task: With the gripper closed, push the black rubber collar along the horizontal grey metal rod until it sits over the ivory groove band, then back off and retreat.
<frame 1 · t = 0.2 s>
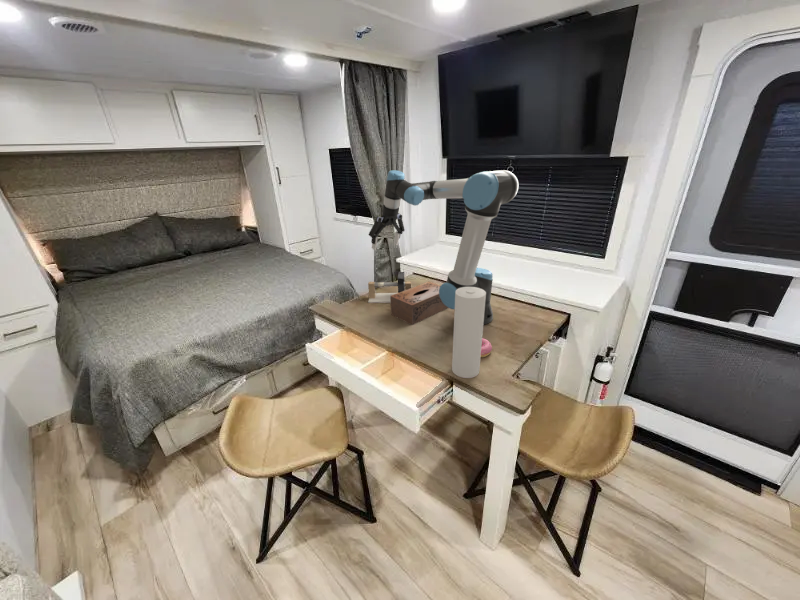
hand: (384, 246, 164), 27 cm above the table, tool tilted 15°, fingers open, 13 cm apart
rail stand: (390, 298, 174), on the table
tissue box cover: (421, 311, 159), on the table
cylinder container: (465, 370, 115), on the table
doughnut: (476, 351, 126), on the table
collar: (401, 284, 170), point 8 cm above the table, slide at -6.0 cm
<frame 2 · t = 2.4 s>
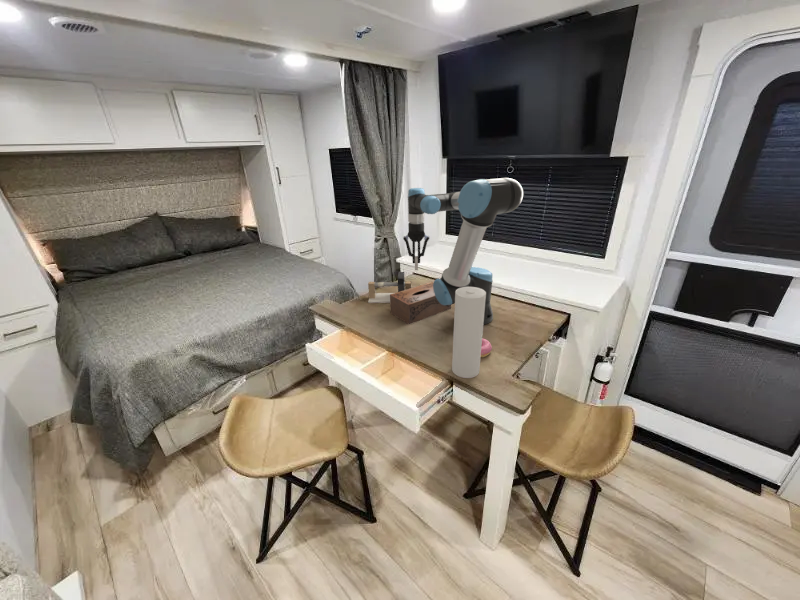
hand: (416, 269, 166), 16 cm above the table, tool pointing down, fingers closed
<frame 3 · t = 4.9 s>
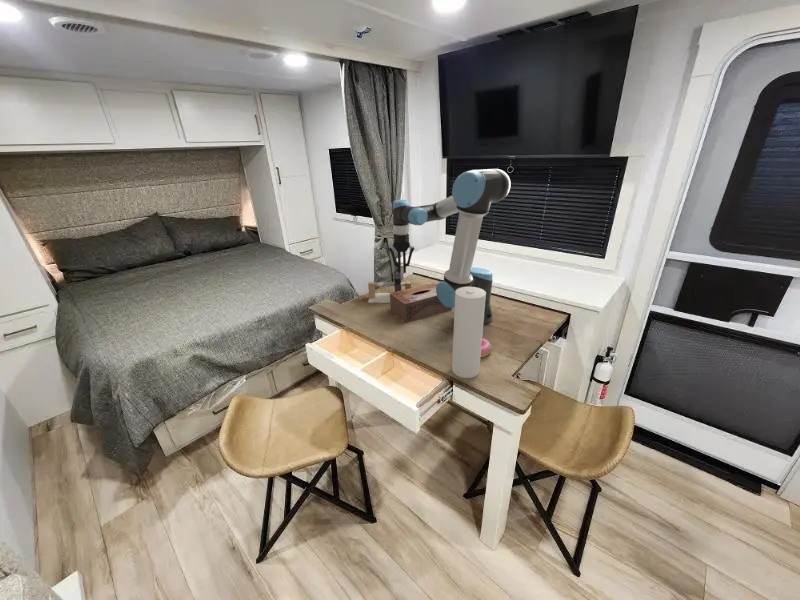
hand: (402, 278, 169), 11 cm above the table, tool pointing down, fingers closed
collar: (398, 284, 170), point 8 cm above the table, slide at -4.3 cm, touching gripper
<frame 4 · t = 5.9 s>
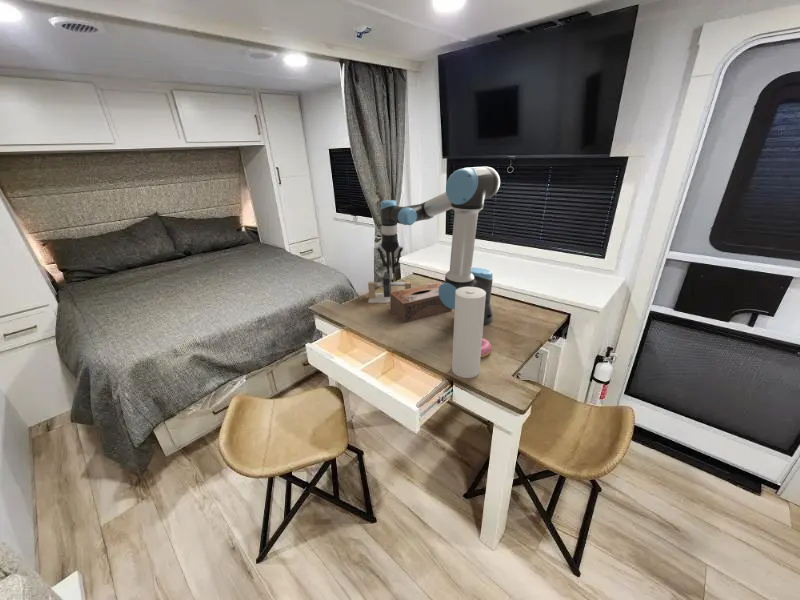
hand: (391, 278, 169), 11 cm above the table, tool pointing down, fingers closed
collar: (387, 284, 170), point 8 cm above the table, slide at 1.3 cm, touching gripper
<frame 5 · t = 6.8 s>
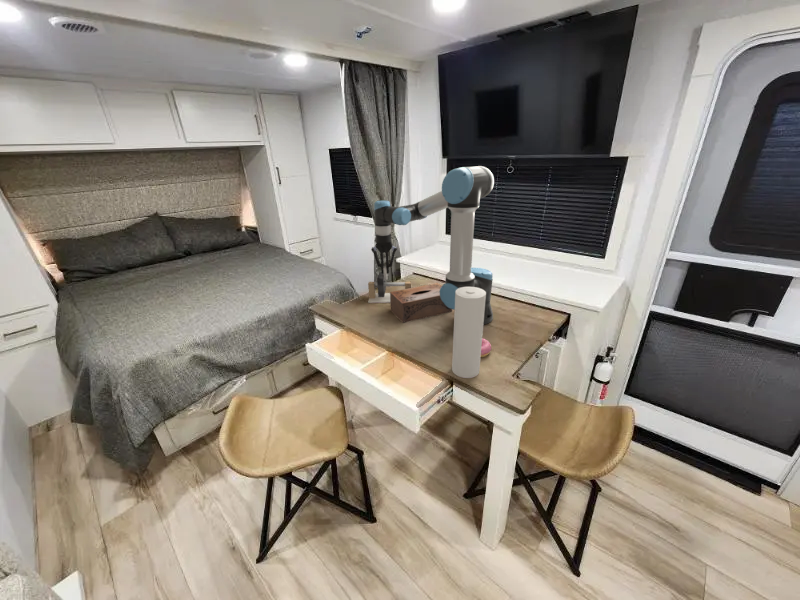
hand: (385, 279, 169), 11 cm above the table, tool pointing down, fingers closed
collar: (381, 284, 170), point 8 cm above the table, slide at 4.2 cm, touching gripper
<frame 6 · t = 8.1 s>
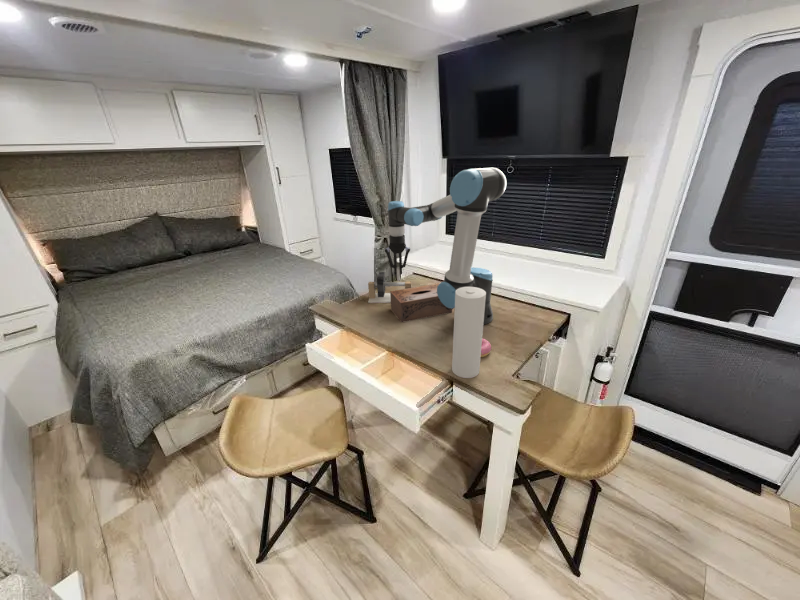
hand: (398, 280, 169), 10 cm above the table, tool pointing down, fingers closed
collar: (381, 284, 170), point 8 cm above the table, slide at 4.4 cm
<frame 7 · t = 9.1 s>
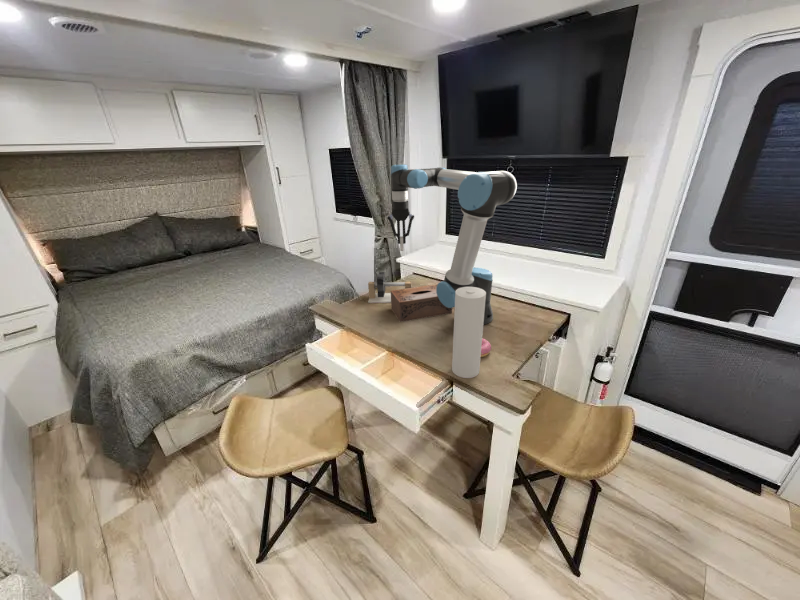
hand: (401, 250, 162), 26 cm above the table, tool pointing down, fingers closed
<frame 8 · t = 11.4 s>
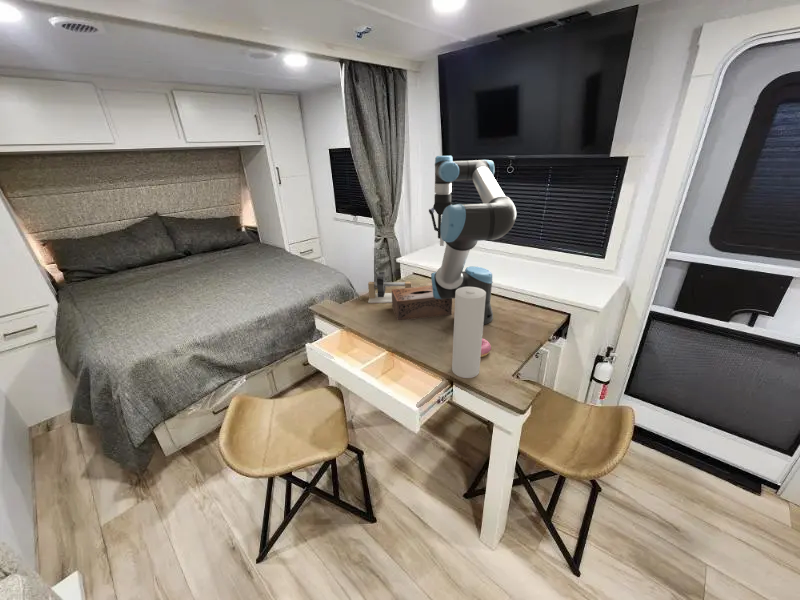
hand: (441, 245, 156), 29 cm above the table, tool pointing down, fingers closed
at the end: collar slide at 4.4 cm; collar 0.4 cm from the target spot, resting on rail stand; the gripper is holding nothing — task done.
